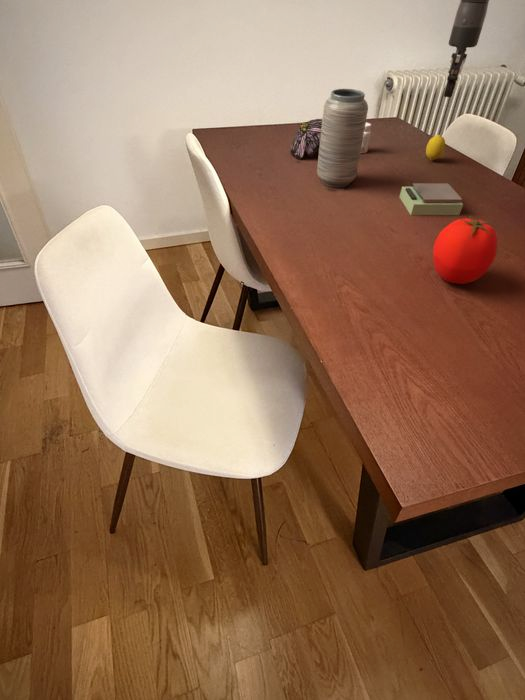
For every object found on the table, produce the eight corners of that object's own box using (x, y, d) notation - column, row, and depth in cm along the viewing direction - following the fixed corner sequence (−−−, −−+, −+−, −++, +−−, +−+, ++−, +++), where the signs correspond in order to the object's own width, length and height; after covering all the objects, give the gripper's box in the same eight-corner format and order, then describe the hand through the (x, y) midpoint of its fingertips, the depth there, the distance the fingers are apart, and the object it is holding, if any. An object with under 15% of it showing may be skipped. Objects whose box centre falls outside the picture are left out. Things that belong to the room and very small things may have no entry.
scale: (444, 197, 113) (448, 184, 111) (459, 215, 106) (464, 202, 103) (399, 197, 113) (402, 184, 110) (410, 215, 105) (414, 202, 103)
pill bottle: (359, 147, 141) (364, 121, 135) (370, 151, 138) (375, 124, 133) (350, 150, 139) (354, 123, 133) (361, 154, 136) (366, 127, 130)
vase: (312, 186, 117) (321, 96, 101) (320, 171, 125) (329, 85, 109) (351, 192, 115) (367, 100, 98) (357, 176, 123) (373, 89, 106)
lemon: (423, 163, 132) (430, 136, 126) (422, 157, 135) (429, 131, 130) (440, 164, 131) (449, 138, 125) (439, 158, 134) (447, 132, 129)
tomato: (491, 278, 85) (520, 220, 76) (464, 302, 79) (493, 243, 70) (441, 256, 91) (462, 200, 82) (412, 278, 85) (432, 219, 76)
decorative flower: (287, 115, 134) (331, 103, 129) (296, 146, 144) (337, 136, 138) (282, 141, 127) (329, 130, 122) (292, 172, 137) (336, 163, 131)
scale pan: (447, 186, 111) (448, 183, 110) (461, 202, 104) (462, 199, 103) (411, 186, 110) (412, 183, 110) (423, 202, 103) (424, 199, 103)
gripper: (482, 27, 103) (460, 100, 114) (483, 21, 112) (463, 89, 123) (451, 26, 105) (433, 98, 116) (455, 20, 114) (438, 87, 126)
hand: (448, 93), depth 120 cm, fingers open, 8 cm apart
